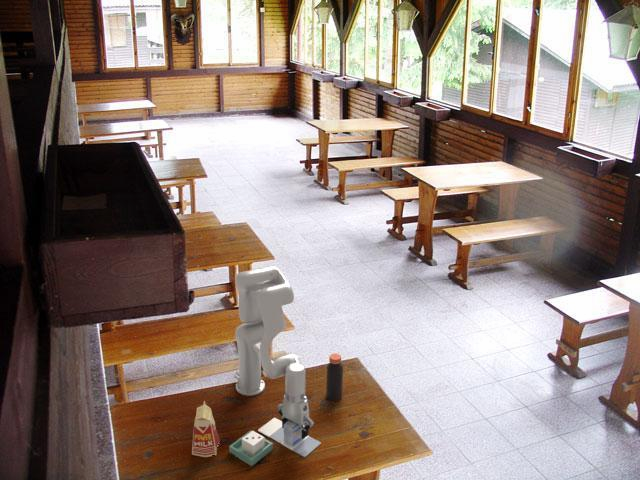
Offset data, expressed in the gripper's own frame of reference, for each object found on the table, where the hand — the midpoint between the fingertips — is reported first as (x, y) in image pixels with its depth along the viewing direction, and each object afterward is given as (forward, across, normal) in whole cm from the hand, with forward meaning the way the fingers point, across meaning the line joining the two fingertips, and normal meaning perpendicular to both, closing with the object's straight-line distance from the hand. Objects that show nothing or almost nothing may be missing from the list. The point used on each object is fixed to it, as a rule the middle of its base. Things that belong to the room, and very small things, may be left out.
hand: (295, 431), depth 246 cm
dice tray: (+4, +9, +15) cm, 18 cm away
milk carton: (+4, +23, +25) cm, 34 cm away
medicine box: (+4, 0, 0) cm, 4 cm away
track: (+4, +3, 0) cm, 5 cm away
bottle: (+4, +5, -32) cm, 33 cm away
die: (+4, +8, +15) cm, 17 cm away
